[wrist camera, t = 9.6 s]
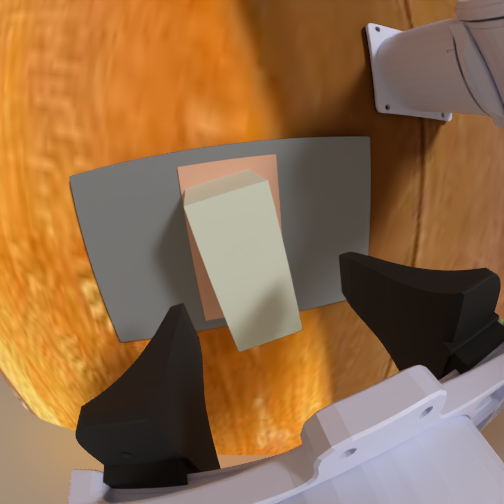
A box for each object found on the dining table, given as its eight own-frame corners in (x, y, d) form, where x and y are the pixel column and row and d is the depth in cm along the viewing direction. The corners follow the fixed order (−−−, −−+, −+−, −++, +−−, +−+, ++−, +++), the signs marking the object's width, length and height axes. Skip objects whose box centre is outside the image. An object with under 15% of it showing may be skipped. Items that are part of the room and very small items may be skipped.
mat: (365, 136, 20) (370, 136, 20) (361, 291, 26) (364, 295, 25) (72, 175, 17) (68, 176, 16) (121, 337, 23) (120, 342, 22)
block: (281, 292, 23) (302, 329, 19) (228, 310, 23) (239, 351, 18) (248, 169, 19) (268, 179, 14) (185, 189, 19) (183, 206, 14)
